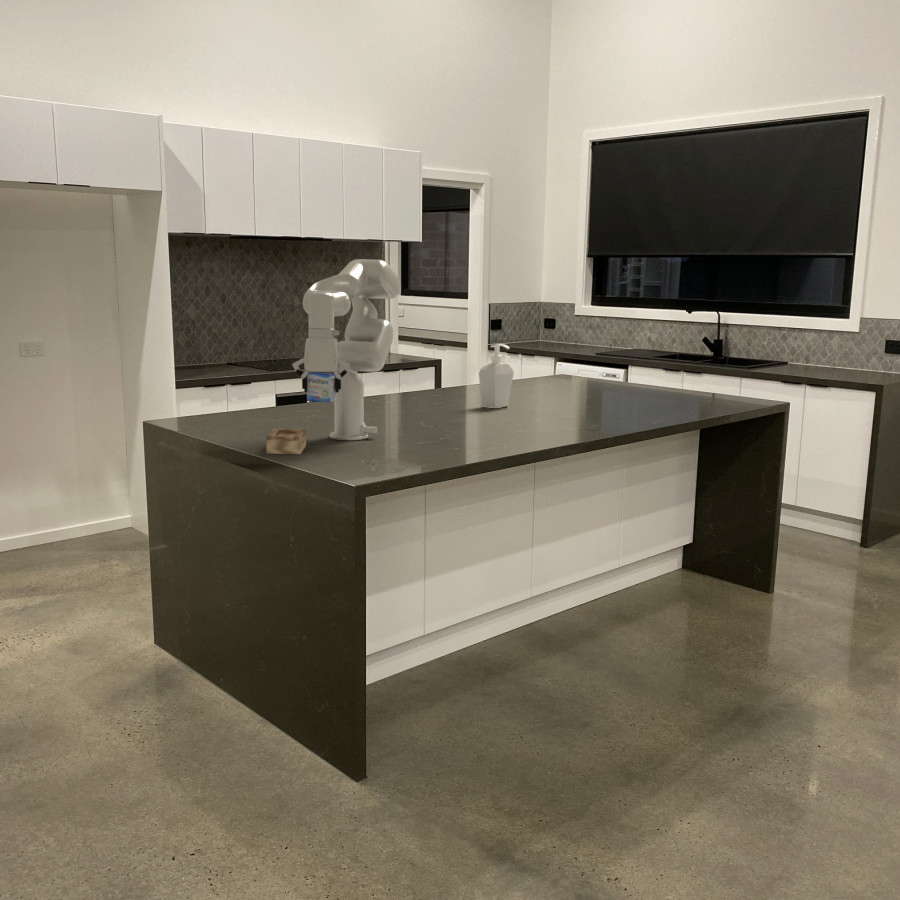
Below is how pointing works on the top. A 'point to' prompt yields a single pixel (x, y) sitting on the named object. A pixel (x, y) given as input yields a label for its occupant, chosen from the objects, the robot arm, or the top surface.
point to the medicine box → (321, 387)
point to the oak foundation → (286, 441)
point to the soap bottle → (496, 380)
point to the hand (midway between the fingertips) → (321, 391)
